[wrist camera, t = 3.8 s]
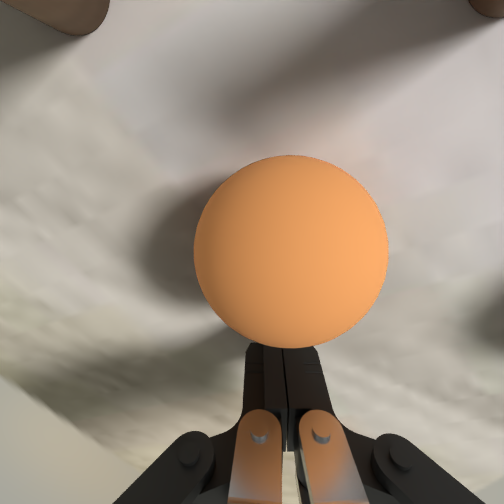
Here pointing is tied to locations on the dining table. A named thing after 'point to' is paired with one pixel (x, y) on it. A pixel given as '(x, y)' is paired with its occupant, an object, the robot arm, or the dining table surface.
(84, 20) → the post
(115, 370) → the dining table surface
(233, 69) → the dining table surface
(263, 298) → the ball
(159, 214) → the dining table surface
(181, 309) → the dining table surface
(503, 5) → the post
